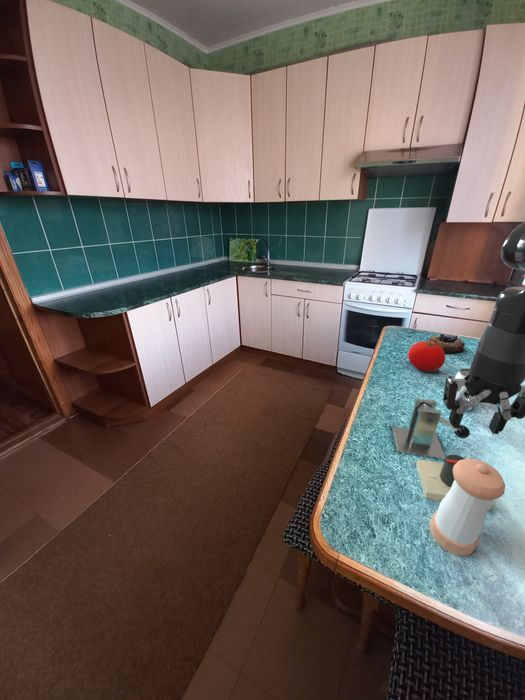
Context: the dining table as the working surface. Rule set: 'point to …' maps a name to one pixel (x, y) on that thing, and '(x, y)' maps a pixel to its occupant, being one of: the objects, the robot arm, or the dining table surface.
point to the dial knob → (449, 469)
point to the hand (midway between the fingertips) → (473, 428)
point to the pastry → (448, 343)
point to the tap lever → (460, 432)
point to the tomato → (426, 356)
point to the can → (462, 375)
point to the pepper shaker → (466, 506)
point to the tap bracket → (420, 432)
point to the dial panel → (433, 480)
